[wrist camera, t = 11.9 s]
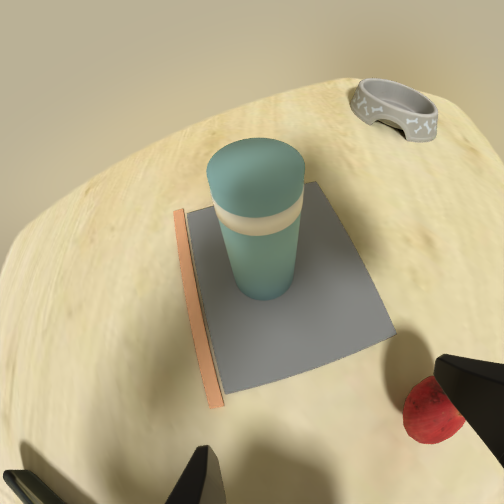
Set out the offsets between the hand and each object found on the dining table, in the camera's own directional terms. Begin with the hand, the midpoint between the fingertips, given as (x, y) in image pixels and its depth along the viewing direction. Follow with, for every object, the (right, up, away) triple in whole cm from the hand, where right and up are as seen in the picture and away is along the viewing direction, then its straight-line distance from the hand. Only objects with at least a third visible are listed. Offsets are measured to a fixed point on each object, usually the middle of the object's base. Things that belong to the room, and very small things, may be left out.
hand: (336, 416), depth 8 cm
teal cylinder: (-2, +4, +18) cm, 19 cm away
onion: (+12, -9, +10) cm, 18 cm away
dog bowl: (+25, +32, +35) cm, 53 cm away
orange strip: (-9, +2, +18) cm, 20 cm away
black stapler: (-23, -22, +4) cm, 32 cm away
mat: (0, +4, +19) cm, 19 cm away
